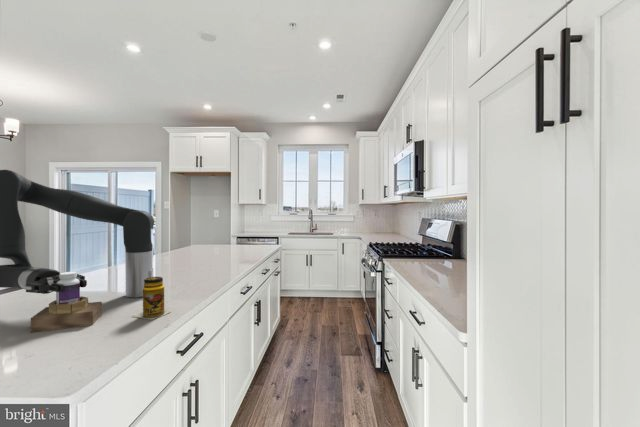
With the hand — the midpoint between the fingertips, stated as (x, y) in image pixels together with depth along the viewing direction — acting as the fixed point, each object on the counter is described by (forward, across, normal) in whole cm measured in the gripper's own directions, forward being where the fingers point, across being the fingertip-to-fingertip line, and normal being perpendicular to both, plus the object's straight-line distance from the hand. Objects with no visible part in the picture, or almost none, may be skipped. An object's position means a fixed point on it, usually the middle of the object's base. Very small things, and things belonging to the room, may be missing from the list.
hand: (73, 286), depth 89 cm
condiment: (+15, +14, +11) cm, 23 cm away
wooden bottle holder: (-2, 0, +11) cm, 11 cm away
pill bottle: (-3, 0, +6) cm, 7 cm away
